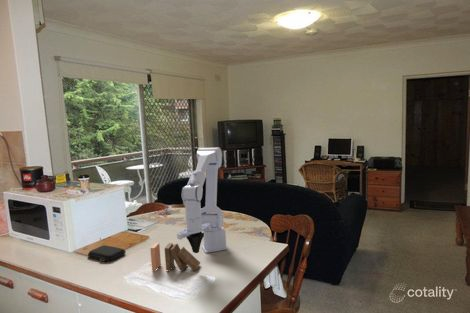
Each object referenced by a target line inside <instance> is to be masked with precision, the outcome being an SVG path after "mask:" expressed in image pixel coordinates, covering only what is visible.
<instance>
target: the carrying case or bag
mask: <svg viewBox="0 0 470 313" xmlns="http://www.w3.org/2000/svg"><path fill="white" fill-rule="evenodd" d="M125 254H126V250H125V249H124V248H122V247H121V248H120V247H116V246H110V245H106V244H103V245H101V246H99V247H96V248H94V249H92V250H90V251H89V252H88V253H87V256H88V258H90V257H91V259H94V258H95V260H98V259H99V261H100V262H109V263H111V262H113V261H116V260H118V259H119V258H121V257H123V256H125Z"/></svg>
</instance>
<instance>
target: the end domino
mask: <svg viewBox="0 0 470 313" xmlns="http://www.w3.org/2000/svg"><path fill="white" fill-rule="evenodd" d="M160 248H161V247H160V242H155V243H154V244H153V245H152V246H151V247H150V259H151V260H150V261H151V271H152V270H156V269H157V268H158V267H159V266H160V265H161V266H162V260H161V249H160ZM161 266H160V267H161ZM160 267H159V268H160ZM159 268H158V269H159ZM158 269H157V270H158Z"/></svg>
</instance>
